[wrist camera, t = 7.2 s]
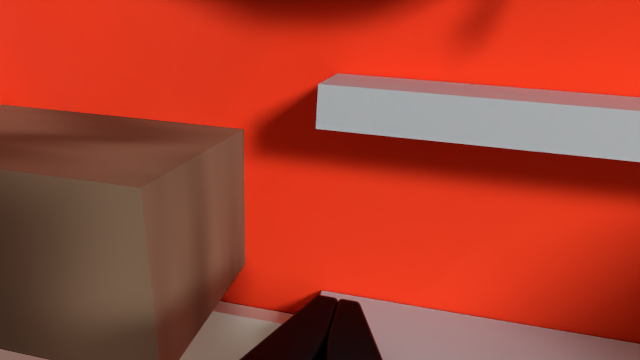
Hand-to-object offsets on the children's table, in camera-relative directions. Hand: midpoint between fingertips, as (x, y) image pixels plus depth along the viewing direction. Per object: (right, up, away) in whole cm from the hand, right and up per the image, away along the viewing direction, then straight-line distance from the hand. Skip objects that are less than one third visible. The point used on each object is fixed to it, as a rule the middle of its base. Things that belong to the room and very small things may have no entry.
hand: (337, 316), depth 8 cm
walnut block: (-7, +3, +6) cm, 10 cm away
